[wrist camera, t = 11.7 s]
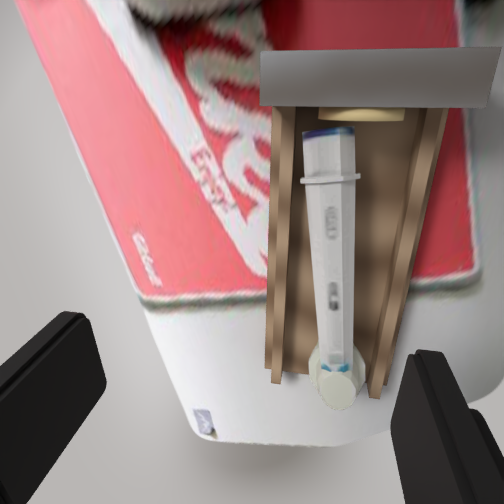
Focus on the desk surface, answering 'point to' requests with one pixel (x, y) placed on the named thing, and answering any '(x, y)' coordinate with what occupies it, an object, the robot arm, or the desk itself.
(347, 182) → the toothbrush head
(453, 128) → the desk surface
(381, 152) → the fitting board
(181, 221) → the desk surface
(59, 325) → the robot arm
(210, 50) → the desk surface
